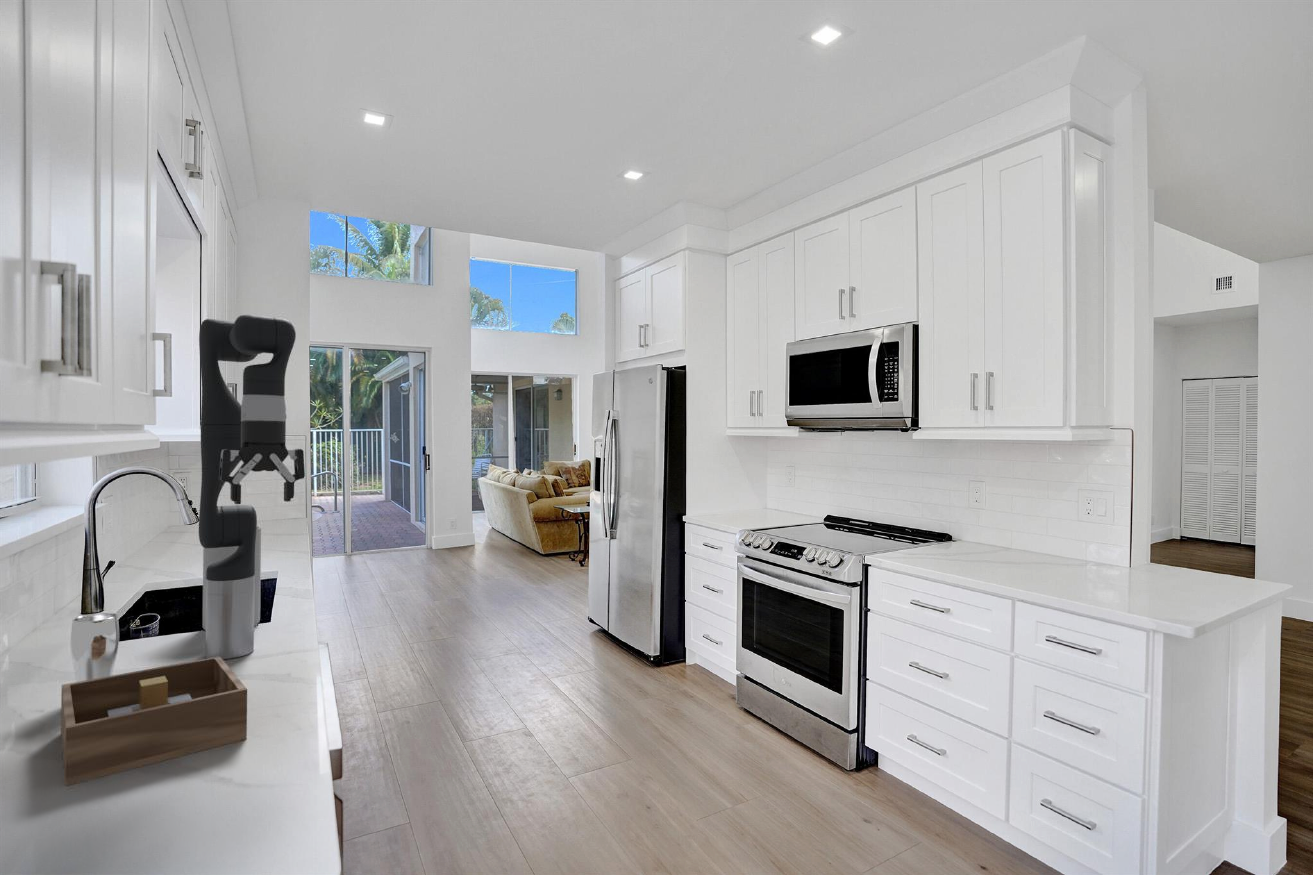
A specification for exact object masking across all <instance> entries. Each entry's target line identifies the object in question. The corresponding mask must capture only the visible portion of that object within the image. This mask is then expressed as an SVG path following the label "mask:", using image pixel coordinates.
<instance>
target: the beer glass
mask: <svg viewBox="0 0 1313 875" xmlns="http://www.w3.org/2000/svg"><path fill="white" fill-rule="evenodd" d="M119 625H120V624H119V614H118V613H117V612H99V613H90V614H85V615H80V616H78V617H77V616H76V617H75V618H73V619H72V621H71V630H70V631H71V632H70V644H69V645H70V656H71V660H72V661H71V662H72V664H73V666H72V667H73V670H74V674H75V682H80V681H86V680H91V679H97V678H102V677H108V676H113V675H114V670H115V663H116V659H117V655H118V651H119V650H118V649H119V644H120V626H119Z"/></svg>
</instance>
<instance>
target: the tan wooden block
mask: <svg viewBox="0 0 1313 875" xmlns="http://www.w3.org/2000/svg"><path fill="white" fill-rule="evenodd" d="M167 704H168V681H167V679H166V677H165V676H162V677H156V678H151V679H146V680H140V681H139V710H143V709H148V708H153V707H158V706H162V705H167Z"/></svg>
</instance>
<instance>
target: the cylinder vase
mask: <svg viewBox="0 0 1313 875" xmlns="http://www.w3.org/2000/svg"><path fill="white" fill-rule="evenodd" d="M202 548H203V551H202V553H203V554H202V560H203V562H202V563H203V564H202V576H203V577H202V628H203V630H205V631H206V570H207V567H208V566H209V565H211V564H213V563H216V562H218V561H221V560H223V559H225V558H227V557H229V556H231V555H232V554H233V553H235V552H236V551H237V549H238V546H234V547H220V548H204V547H203V546H202ZM261 554H262V527H261V526H258V525H257V530H256V542H255V574H254V575H255V586H254V588H255V593H254V627H256V626H257V625H258V624H259V623H260V620H261V575H262V574H261V572H262V571H261V570H262V569H261V567H262V566H261V565H262V563H261V561H262V560H261V559H262V555H261Z"/></svg>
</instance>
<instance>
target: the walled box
mask: <svg viewBox="0 0 1313 875" xmlns="http://www.w3.org/2000/svg"><path fill="white" fill-rule="evenodd" d="M162 676H165V677H166V679H167V681H168V704H167V705H162V706H158V707H153V708H148V709H143V710H139V681H140V680H146V679H151V678H156V677H162ZM60 696H61V697H60V698H61V701H60V702H61V703H60V705H61V706H60V707H61V710H60V711H61V712H60V714H61V715H60V716H61V717H60V719H61V720H60V738H61V748H62V749H61V750H62V761H63V771H64V772H63V773H64V774H63V775H64V783H65V784H64V785H65V786H70V785H74V784H78V783H81V782H85V781H88V780H93V779H97V778H100V777H103V776H108V775H112V774H116V773H120V772H123V771H127V770H132V769H136V768H140V767H144V766H147V765H151V764H155V763H158V762H162V761H163V762H164V761H167V760H170V759H171V760H172V759H173V758H178V757H182V756H185V755H190V754H194V753H198V752H201V751H205V750H210V749H212V748H216V747H219V746H220V745H221V746H224V745H228V744H232V743H235V742H240V741H243V740H244V741H245V740H247V737H248V734H247V733H248V731H247V730H248V688H247V687H246V686H245V685H244V684H243V683H242V681H241V680H240V679H239V678H238V676H237V675H236V674H235V672H234V671H232V669H231V668H230V666H228V664H227V663H226V662H225V661H224V659H222V658H221V657H220V656H218V657H212V658H202V659H197V660H192V661H186V662H180V663H174V664H170V665H164V666H163V665H162V666H159V667H157V666H156V667H153V668H147V669H142V670H141V669H140V670H136V671H131V672H125V673H120V674H119V673H118V674H113V676H108V677H102V678H97V679H91V680H86V681H80V682H76V681H75V682H70V683H65V684H61V694H60ZM204 749H205V750H204ZM197 751H198V752H197Z"/></svg>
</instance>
